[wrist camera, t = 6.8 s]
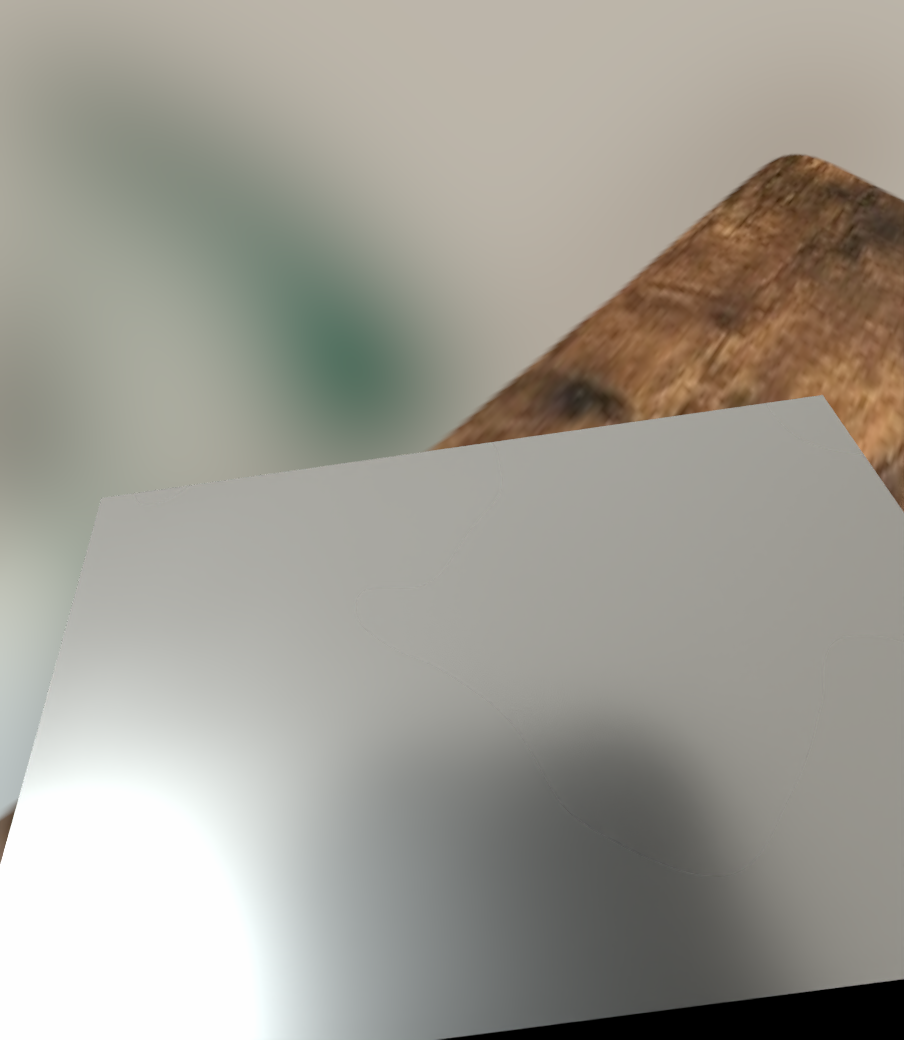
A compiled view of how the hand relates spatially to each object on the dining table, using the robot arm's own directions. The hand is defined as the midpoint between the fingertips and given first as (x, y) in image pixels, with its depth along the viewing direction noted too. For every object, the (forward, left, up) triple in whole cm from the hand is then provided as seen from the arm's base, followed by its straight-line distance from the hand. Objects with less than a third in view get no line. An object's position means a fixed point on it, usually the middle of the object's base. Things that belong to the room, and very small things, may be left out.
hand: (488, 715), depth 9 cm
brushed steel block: (-1, 0, -7) cm, 7 cm away
